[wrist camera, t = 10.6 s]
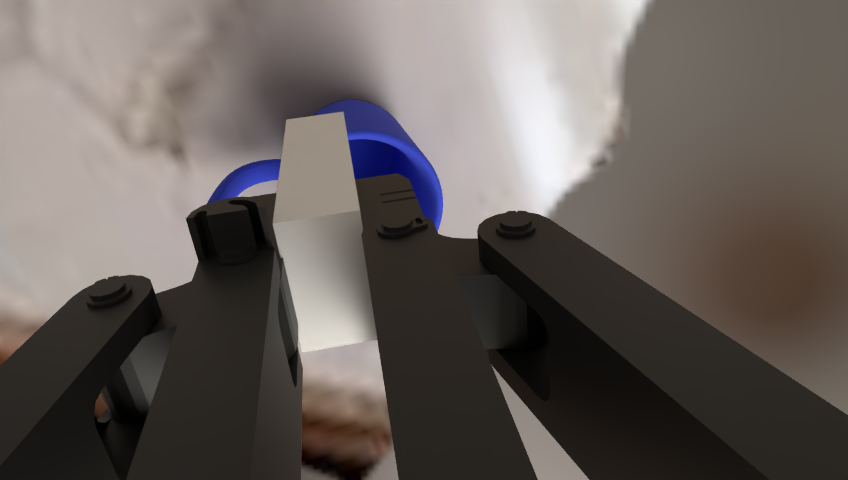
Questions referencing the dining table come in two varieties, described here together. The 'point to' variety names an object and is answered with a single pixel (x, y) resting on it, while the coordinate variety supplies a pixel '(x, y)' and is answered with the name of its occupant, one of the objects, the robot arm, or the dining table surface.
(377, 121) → the mug
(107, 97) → the dining table surface
